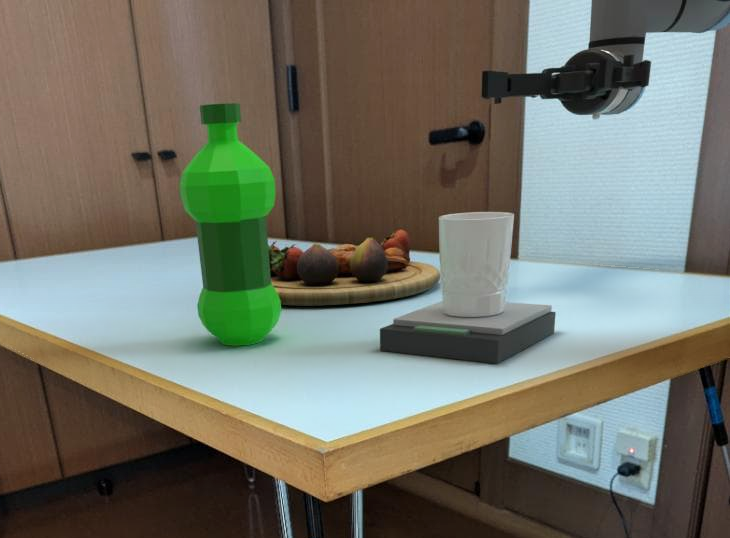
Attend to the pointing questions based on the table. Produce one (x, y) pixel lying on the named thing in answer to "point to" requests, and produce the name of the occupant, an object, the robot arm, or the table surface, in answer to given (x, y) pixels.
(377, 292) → the wooden plate
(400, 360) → the table surface
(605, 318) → the table surface
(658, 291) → the table surface
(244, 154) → the plastic bottle
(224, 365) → the table surface
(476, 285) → the white cup
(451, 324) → the kitchen scale
